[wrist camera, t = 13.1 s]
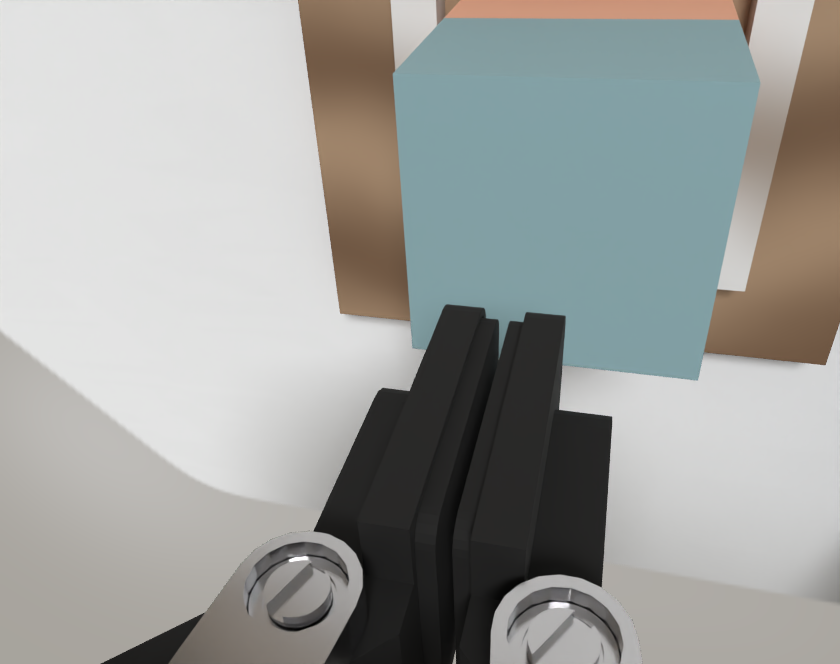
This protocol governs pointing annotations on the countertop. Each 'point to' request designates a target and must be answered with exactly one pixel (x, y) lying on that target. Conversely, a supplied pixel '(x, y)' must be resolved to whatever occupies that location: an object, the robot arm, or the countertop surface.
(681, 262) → the teal and orange block
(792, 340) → the walnut board
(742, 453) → the countertop surface
